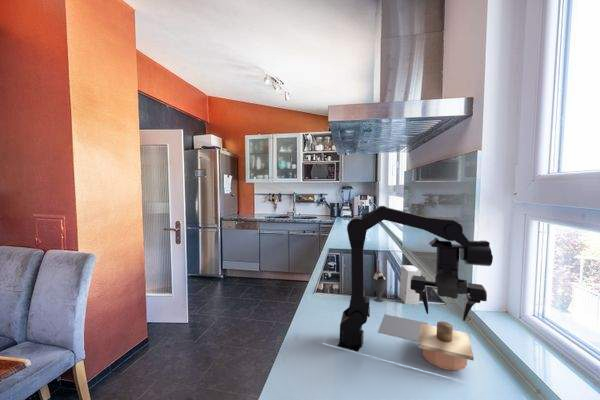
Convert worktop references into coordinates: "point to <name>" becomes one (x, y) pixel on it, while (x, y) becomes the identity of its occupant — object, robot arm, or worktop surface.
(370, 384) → the worktop surface
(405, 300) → the skincare box
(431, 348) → the lid
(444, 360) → the bowl
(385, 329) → the mat
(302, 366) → the worktop surface
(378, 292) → the sundae
